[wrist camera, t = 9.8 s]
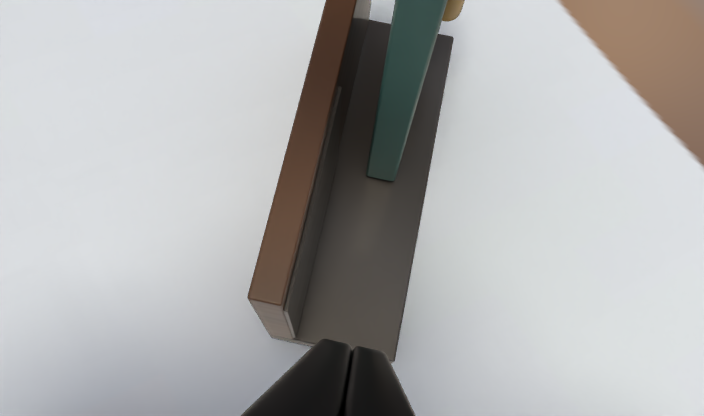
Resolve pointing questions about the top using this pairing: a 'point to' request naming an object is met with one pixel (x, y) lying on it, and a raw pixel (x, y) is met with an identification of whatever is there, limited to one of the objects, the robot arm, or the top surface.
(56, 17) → the top surface
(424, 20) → the sliding door
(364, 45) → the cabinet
